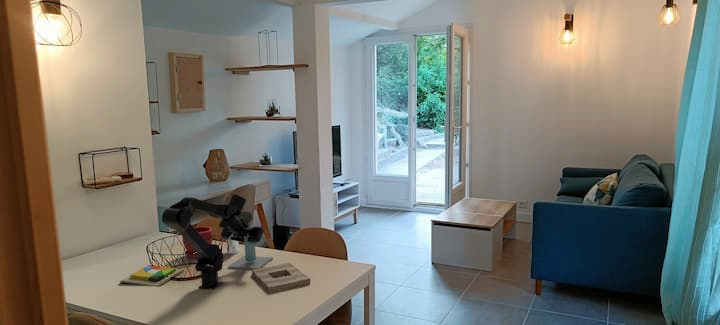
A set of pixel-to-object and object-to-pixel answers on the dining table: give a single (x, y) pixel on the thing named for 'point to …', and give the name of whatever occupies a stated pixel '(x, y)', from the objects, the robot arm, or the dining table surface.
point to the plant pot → (205, 233)
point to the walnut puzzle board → (290, 281)
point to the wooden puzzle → (152, 275)
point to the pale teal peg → (249, 250)
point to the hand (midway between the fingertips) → (251, 242)
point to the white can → (232, 246)
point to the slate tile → (250, 263)
